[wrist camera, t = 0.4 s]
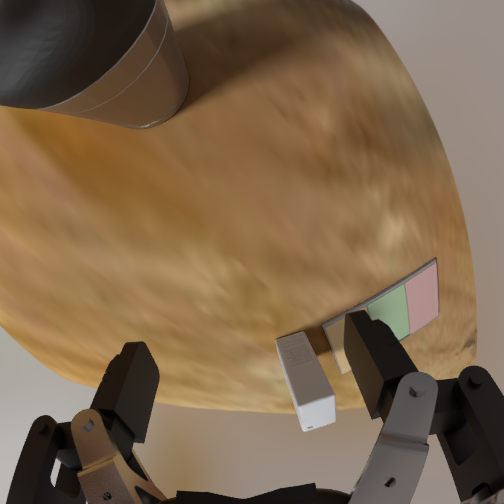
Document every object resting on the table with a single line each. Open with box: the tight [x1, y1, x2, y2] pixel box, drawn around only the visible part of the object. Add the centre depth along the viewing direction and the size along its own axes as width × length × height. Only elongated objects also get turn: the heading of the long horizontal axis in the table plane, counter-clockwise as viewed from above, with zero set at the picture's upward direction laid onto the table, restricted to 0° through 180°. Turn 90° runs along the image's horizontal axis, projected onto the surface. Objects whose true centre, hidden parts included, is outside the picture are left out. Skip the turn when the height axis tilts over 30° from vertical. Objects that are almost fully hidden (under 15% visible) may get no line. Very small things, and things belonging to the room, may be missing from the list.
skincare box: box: [275, 331, 336, 432], centre depth 31 cm, size 6×4×12 cm
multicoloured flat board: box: [322, 258, 439, 375], centre depth 37 cm, size 12×20×1 cm, turn 115°
